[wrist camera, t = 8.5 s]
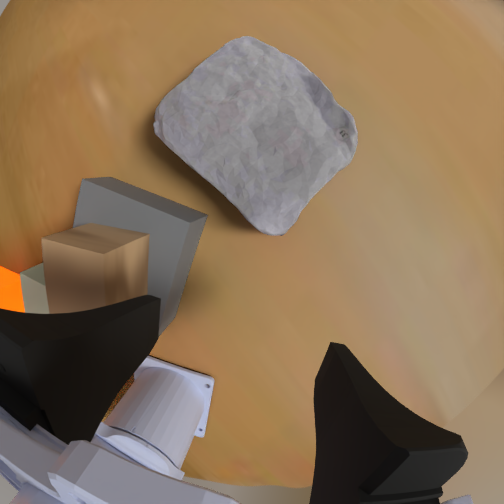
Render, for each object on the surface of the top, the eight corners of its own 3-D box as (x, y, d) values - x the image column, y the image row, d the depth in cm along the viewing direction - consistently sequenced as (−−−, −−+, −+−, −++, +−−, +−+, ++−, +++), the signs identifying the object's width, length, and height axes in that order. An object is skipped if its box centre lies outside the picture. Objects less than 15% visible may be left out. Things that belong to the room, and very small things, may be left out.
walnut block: (147, 304, 19) (108, 339, 14) (92, 287, 19) (49, 314, 15) (149, 233, 18) (103, 254, 13) (90, 222, 18) (41, 237, 13)
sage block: (90, 317, 25) (60, 340, 20) (57, 301, 25) (26, 320, 20) (89, 271, 23) (53, 289, 19) (54, 257, 24) (19, 272, 19)
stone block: (245, 50, 19) (154, 136, 19) (245, 15, 14) (131, 117, 15) (360, 147, 20) (273, 242, 21) (388, 131, 15) (280, 251, 16)
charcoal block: (176, 315, 23) (157, 338, 20) (93, 271, 24) (66, 286, 20) (209, 214, 21) (190, 223, 17) (112, 176, 21) (82, 178, 17)
